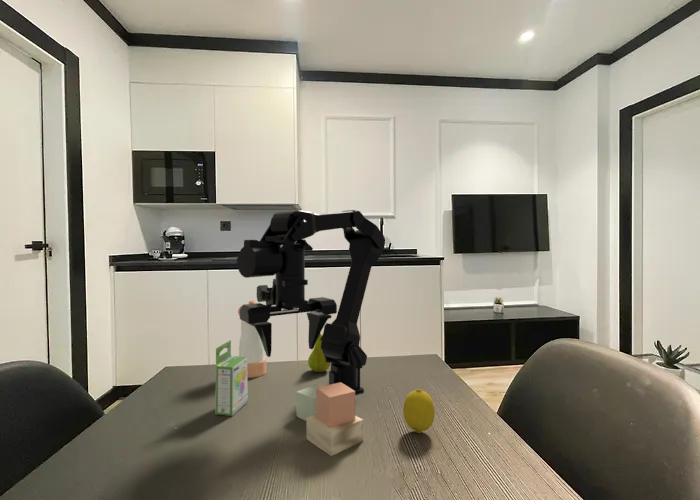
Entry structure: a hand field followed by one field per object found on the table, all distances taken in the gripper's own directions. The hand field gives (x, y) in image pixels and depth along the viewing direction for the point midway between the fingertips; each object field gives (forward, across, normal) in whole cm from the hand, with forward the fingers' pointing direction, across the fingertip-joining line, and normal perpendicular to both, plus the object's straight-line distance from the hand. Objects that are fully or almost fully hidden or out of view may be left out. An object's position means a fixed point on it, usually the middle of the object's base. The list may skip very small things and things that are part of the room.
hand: (290, 352), depth 75 cm
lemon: (+13, -16, +20) cm, 28 cm away
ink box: (+13, +9, -9) cm, 18 cm away
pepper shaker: (+13, -2, -28) cm, 31 cm away
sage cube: (+13, -4, +3) cm, 13 cm away
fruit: (+13, -18, -19) cm, 29 cm away
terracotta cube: (+9, -2, +13) cm, 16 cm away
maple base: (+13, -2, +13) cm, 18 cm away
